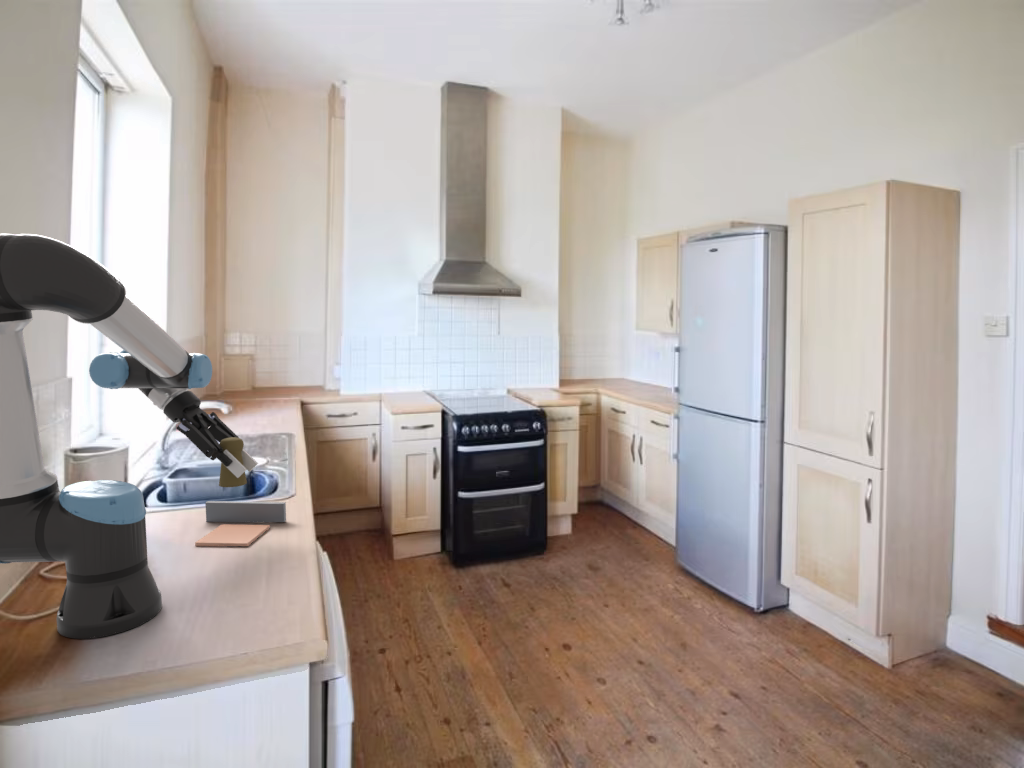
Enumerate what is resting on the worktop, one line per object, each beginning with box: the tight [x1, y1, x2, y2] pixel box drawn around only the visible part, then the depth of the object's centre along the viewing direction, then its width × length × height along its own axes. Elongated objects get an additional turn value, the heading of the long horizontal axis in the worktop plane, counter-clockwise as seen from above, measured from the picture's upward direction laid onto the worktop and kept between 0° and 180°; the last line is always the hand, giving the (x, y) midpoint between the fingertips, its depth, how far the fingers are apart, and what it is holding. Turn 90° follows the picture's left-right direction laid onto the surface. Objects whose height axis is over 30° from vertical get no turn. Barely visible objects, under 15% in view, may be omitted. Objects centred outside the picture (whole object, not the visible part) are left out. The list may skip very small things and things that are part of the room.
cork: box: [218, 437, 248, 488], centre depth 140 cm, size 6×6×11 cm
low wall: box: [204, 500, 287, 523], centre depth 152 cm, size 1×20×5 cm, turn 89°
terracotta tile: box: [194, 523, 271, 547], centre depth 141 cm, size 12×12×1 cm
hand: (248, 470), depth 140 cm, fingers closed on cork, 5 cm apart
